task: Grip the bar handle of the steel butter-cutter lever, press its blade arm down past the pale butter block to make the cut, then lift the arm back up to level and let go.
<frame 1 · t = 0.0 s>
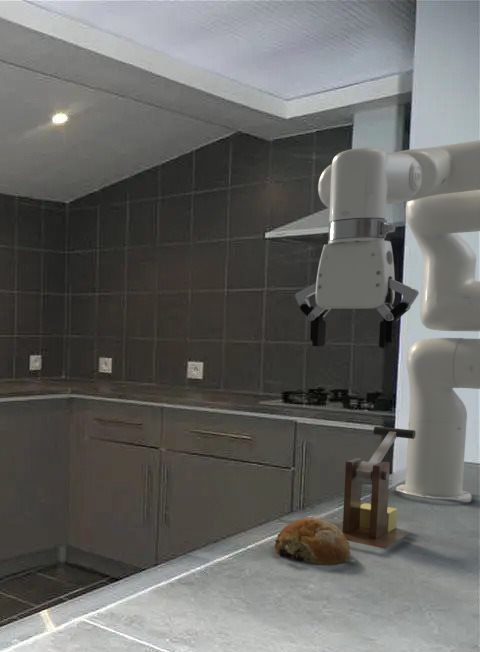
hand: (350, 346, 110), 31 cm above the counter, tool pointing down, fingers open, 9 cm apart
bread roll: (311, 561, 106), on the counter
cutter: (363, 540, 115), on the counter
butter: (375, 526, 118), resting on cutter
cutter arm: (380, 453, 117), point 13 cm above the counter, hinge at 25.0°
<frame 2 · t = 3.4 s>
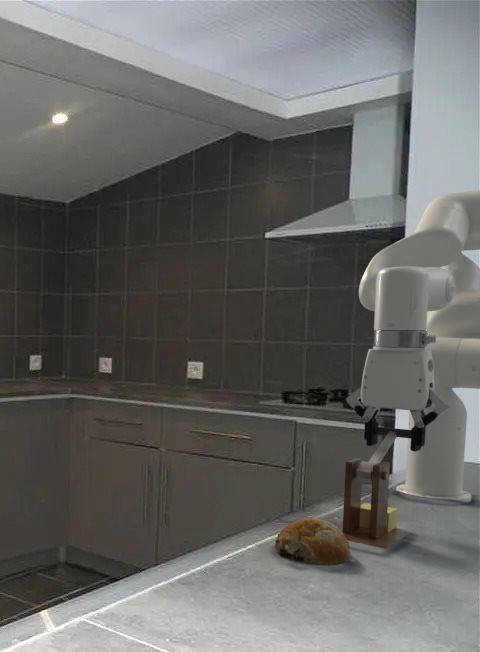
hand: (393, 446, 121), 14 cm above the counter, tool pointing down, fingers closed on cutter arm, 6 cm apart
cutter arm: (380, 453, 117), point 13 cm above the counter, hinge at 25.0°, touching gripper
everything else where it was.
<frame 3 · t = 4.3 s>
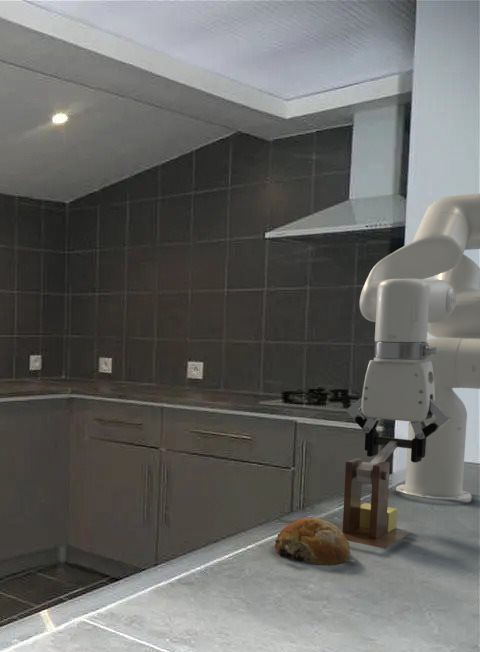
hand: (393, 457, 122), 12 cm above the counter, tool pointing down, fingers closed on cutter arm, 6 cm apart
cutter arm: (380, 458, 118), point 13 cm above the counter, hinge at 16.2°, touching gripper
everything else where it was.
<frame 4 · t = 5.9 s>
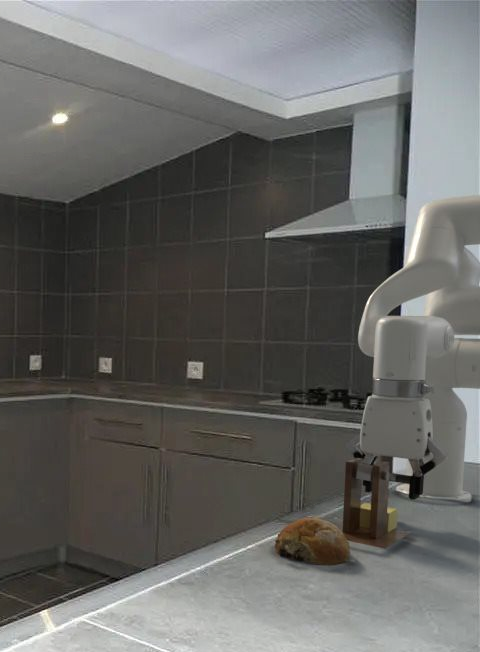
hand: (391, 493, 122), 6 cm above the counter, tool pointing down, fingers closed on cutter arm, 6 cm apart
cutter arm: (380, 475, 118), point 10 cm above the counter, hinge at -12.0°, touching gripper
everything else where it was.
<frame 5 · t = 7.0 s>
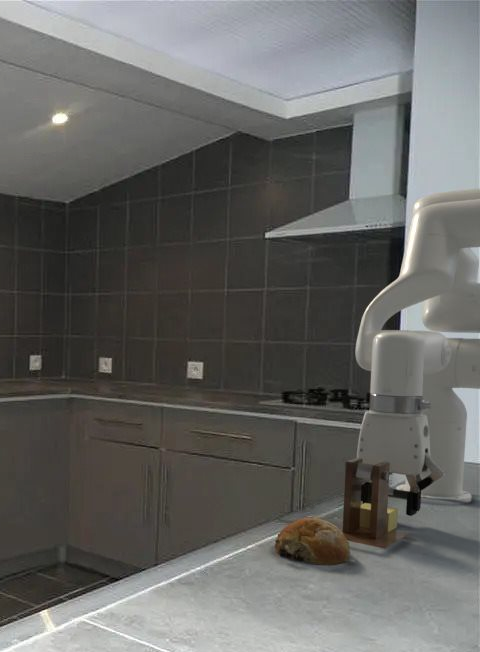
hand: (389, 509, 122), 3 cm above the counter, tool pointing down, fingers closed on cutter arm, 6 cm apart
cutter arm: (378, 482, 118), point 9 cm above the counter, hinge at -24.1°, touching gripper
everything else where it was.
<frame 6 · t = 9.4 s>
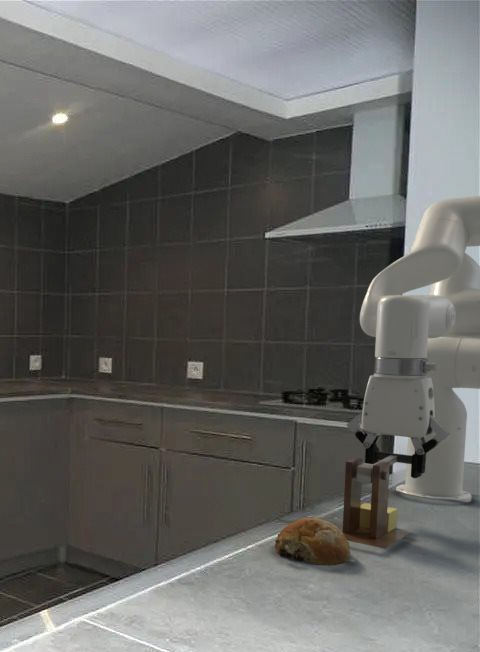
hand: (393, 472, 122), 9 cm above the counter, tool pointing down, fingers closed on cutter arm, 6 cm apart
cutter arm: (380, 465, 118), point 11 cm above the counter, hinge at 3.7°, touching gripper
everything else where it was.
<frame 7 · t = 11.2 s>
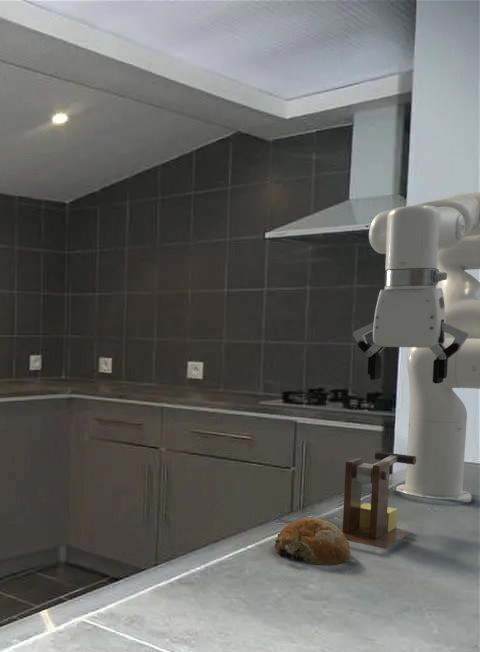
hand: (405, 380, 123), 25 cm above the counter, tool pointing down, fingers open, 9 cm apart
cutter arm: (380, 465, 118), point 11 cm above the counter, hinge at 3.6°
everything else where it was.
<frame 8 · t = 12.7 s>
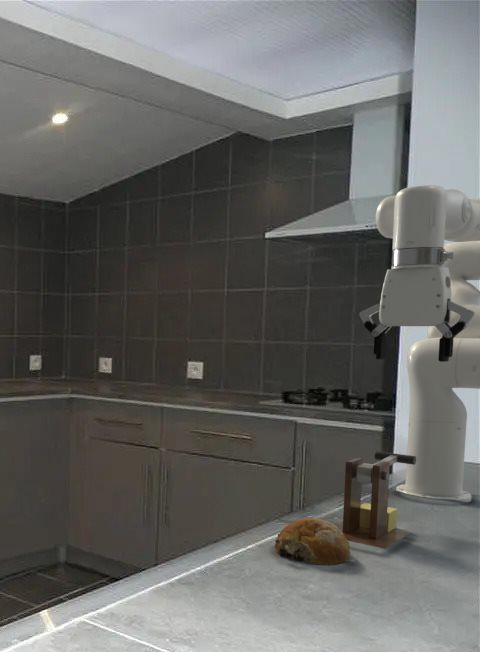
hand: (411, 360, 124), 28 cm above the counter, tool pointing down, fingers open, 9 cm apart
nothing on the counter moved.
at the end: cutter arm reached -24° during the clip, +4° at the end; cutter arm at +4° (first picture: +25°); the gripper is holding nothing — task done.
